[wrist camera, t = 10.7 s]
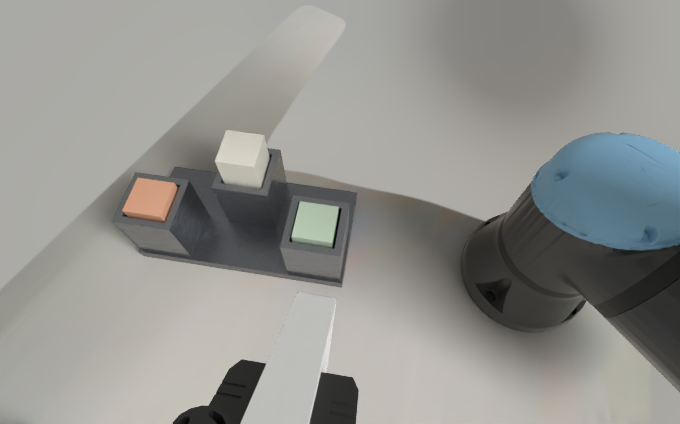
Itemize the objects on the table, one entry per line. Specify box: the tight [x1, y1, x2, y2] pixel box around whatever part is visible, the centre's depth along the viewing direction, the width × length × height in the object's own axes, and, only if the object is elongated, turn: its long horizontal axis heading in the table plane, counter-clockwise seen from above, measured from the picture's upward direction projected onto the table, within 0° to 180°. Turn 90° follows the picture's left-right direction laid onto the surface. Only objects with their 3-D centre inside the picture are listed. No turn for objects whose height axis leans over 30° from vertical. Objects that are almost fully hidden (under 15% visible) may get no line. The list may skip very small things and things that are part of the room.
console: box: [112, 148, 357, 287], centre depth 51 cm, size 26×13×10 cm, turn 81°
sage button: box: [291, 201, 339, 249], centre depth 48 cm, size 4×4×8 cm
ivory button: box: [215, 130, 270, 189], centre depth 49 cm, size 4×4×8 cm
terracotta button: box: [122, 178, 178, 223], centre depth 49 cm, size 4×4×8 cm
